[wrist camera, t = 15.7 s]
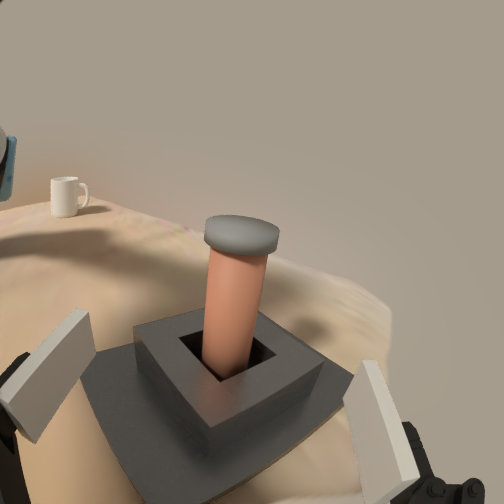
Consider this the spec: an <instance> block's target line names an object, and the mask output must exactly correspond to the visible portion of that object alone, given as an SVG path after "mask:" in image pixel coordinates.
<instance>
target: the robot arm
mask: <svg viewBox="0 0 504 504" xmlns="http://www.w3.org/2000/svg"><path fill="white" fill-rule="evenodd" d="M3 1H4V0H0V4H1V3H2V2H3ZM16 143H17V139H16V138H15V137H11V136H7V137H6V135H5V132H4V131H3V129H2V127H1V126H0V202H2V201H7V200H8V199H9V198H10V197H11V195H12V187H13V186H12V185H13V174H14V162H15V153H16ZM95 355H96V350H95V345H94V340H93V335H92V329H91V323H90V317H89V312H88V311H85V310H82V309H79V308H76V309H75V310H74V311H73V312H72V313H71V314H70V315H69V316H68V317H67V318H66V319H65V320H64V321H63V322H62V323H61V324H60V325H59V326H58V327H57V328H56V329H55V330H54V331H53V332H52V333H51V334H50V335H49V336H48V337H47V338H46V339H45V340H44V341H43V342H42V343H41V344H40V345H39V346H38V347H37V348H36V349H35V350H34V351H33V352H32V353H31V354H30V353H28V352H26V353H24V354H22V355H20V356H18V357H17V358H16V359H15V360H14V361H13V362H12V364H11V365H10V366H9V367H8V368H7V369H6V371H4V372H3V373H2V374H1V376H0V504H31V501H30V498H29V494H28V491H27V487H26V483H25V479H24V475H23V471H22V466H21V461H20V456H19V450H18V444H17V437H16V434H15V433H14V432H15V431H16V429H18V431H19V432H20V433H21V435H22V436H23V437H24V438H26V439H28V440H29V441H31V442H32V443H34V444H36V442H37V441H38V439H39V437H40V436H41V434H42V433H43V431H44V430H45V428H46V426H47V425H48V423H49V422H50V420H51V419H52V417H53V416H54V414H55V413H56V411H57V409H58V408H59V406H60V405H61V403H62V402H63V401H64V399H65V398H66V396H67V395H68V393H69V392H70V390H71V389H72V387H73V386H74V384H75V383H76V382H77V380H78V379H79V377H80V376H81V375H82V373H83V372H84V370H85V369H86V368H87V366H88V365H89V363H90V362H91V361H92V359H93V358H94V357H95ZM343 402H344V406H345V410H346V415H347V419H348V423H349V428H350V432H351V437H352V441H353V446H354V451H355V455H356V460H357V465H358V470H359V475H360V481H361V486H362V491H363V497H364V502H365V504H386V503H388V502H389V501H390V504H484V498H485V489H484V485H483V483H482V482H481V481H480V480H479V479H477V478H470V479H468V480H467V481H466V482H464V483H463V484H462V485H461V484H460V485H459V484H446V483H445V482H444V481H443V480H442V479H440V478H437V477H435V476H434V474H433V472H432V469H431V466H430V464H429V461H428V458H427V455H426V453H425V450H424V448H423V445H422V442H421V441H420V437H419V435H418V432H417V430H416V428H415V427H414V426H413V425H412V424H411V423H410V422H401V420H400V418H399V415H398V413H397V410H396V407H395V405H394V402H393V400H392V397H391V395H390V392H389V390H388V388H387V385H386V383H385V380H384V378H383V376H382V373H381V371H380V369H379V366H378V364H377V362H376V361H375V360H362V361H361V363H360V365H359V367H358V369H357V371H356V374H355V376H354V377H353V379H352V381H351V383H350V385H349V387H348V389H347V391H346V393H345V395H344V397H343Z"/></svg>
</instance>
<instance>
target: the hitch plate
mask: <svg viewBox="0 0 504 504" xmlns="http://www.w3.org/2000/svg"><path fill="white" fill-rule="evenodd" d="M204 316H205V308H203V309H199V310H195V311H192V312H188V313H184V314H180V315H177V316H173V317H169V318H165V319H161V320H157V321H153V322H149V323H145V324H141V325H137V326H133V335H134V343H131V344H127V345H124V346H120V347H116V348H112V349H108V350H104V351H100V352H96V355H95V357H94V358H93V359H92V361H91V362H90V363H89V365H88V366H87V368H86V369H85V370H84V372H83V373H82V375H81V376H80V379H81V382H82V385H83V387H84V390H85V392H86V395H87V397H88V400H89V402H90V404H91V407H92V409H93V411H94V414H95V416H96V418H97V420H98V422H99V424H100V426H101V429H102V431H103V433H104V435H105V437H106V439H107V441H108V442H109V444H110V446H111V448H112V450H113V452H114V454H115V456H116V457H117V459H118V461H119V463H120V464H121V466H122V468H123V469H124V471H125V473H126V474H127V476H128V478H129V479H130V481H131V482H132V484H133V486H134V487H135V489H136V490H137V492H138V493H139V495H140V496H141V498H142V499H143V500H144V502H145V503H146V504H209V503H211V502H212V501H214V500H216V499H218V498H220V497H222V496H223V495H225V494H227V493H229V492H230V491H232V490H234V489H235V488H237V487H239V486H240V485H242V484H243V483H245V482H247V481H248V480H250V479H251V478H253V477H254V476H256V475H257V474H259V473H260V472H262V471H263V470H265V469H266V468H268V467H269V466H271V465H272V464H274V463H275V462H276V461H278V460H279V459H280V458H282V457H283V456H285V455H286V454H287V453H289V452H290V451H291V450H293V449H294V448H295V447H296V446H298V445H299V444H300V443H301V442H303V441H304V440H305V439H306V438H308V437H309V436H310V435H311V434H313V433H314V432H315V431H316V430H317V429H318V428H320V427H321V426H322V425H323V424H324V423H325V422H327V421H328V420H329V419H330V418H331V417H332V416H333V415H334V414H336V413H337V412H338V411H339V410H340V409H341V408H342V407H343V406H344V402H343V397H344V395H345V393H346V391H347V389H348V387H349V385H350V383H351V381H352V379H353V377H354V376H355V375H353V374H351V373H350V372H348V371H347V370H345V369H344V368H342V367H340V366H339V365H337V364H336V363H334V362H333V361H331V360H330V359H328V358H327V357H325V356H324V355H322V354H321V353H319V352H318V351H316V350H315V349H313V348H312V347H310V346H309V345H307V344H306V343H304V342H303V341H301V340H300V339H298V338H297V337H295V336H294V335H292V334H291V333H289V332H288V331H287V330H285V329H284V328H282V327H281V326H279V325H278V324H276V323H275V322H274V321H272V320H271V319H269V318H268V317H266V316H265V315H264V314H262V313H261V312H259V311H258V313H257V318H256V324H255V329H254V334H253V340H252V345H251V350H250V355H249V361H248V366H247V370H246V371H244V372H242V373H239V374H237V375H235V376H233V377H231V378H229V379H226V380H224V381H222V382H219V381H218V380H217V379H216V378H215V377H214V376H213V375H212V374H211V373H210V372H209V371H208V370H207V369H206V368H205V367H204V366H203V364H202V363H201V362H202V345H203V330H204Z"/></svg>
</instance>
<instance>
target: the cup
mask: <svg viewBox="0 0 504 504" xmlns="http://www.w3.org/2000/svg"><path fill="white" fill-rule="evenodd" d="M78 188H84V189H85V192H86V200H85V203H84V204H82V205H78ZM88 203H89V189H88V187H87V185H86V184H84V183H78V178H77V177H59V178H54V179H51V214H52V216H53V217H55V218H69V217H73V216H75V215H76V214H77V212H78V209H83V208H85V207H86V206H87V205H88Z"/></svg>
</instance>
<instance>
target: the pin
mask: <svg viewBox="0 0 504 504" xmlns="http://www.w3.org/2000/svg"><path fill="white" fill-rule="evenodd" d="M279 232H280V230H279V228H278V227H276V226H275V225H273V224H271V223H269V222H266V221H263V220H260V219H255V218H251V217H245V216H236V215H219V216H213V217H210V218H208V219H207V220H206V224H205V234H204V241H205V242H206V243H207V244H208V245H209V246H211V247H210V258H209V268H208V279H207V291H206V303H205V316H204V330H203V345H202V362H201V363H202V364H203V366H204V367H205V368H206V369H207V370H208V371H209V372H210V373H211V374H212V375H213V376H214V377H215V378H216V379H217V380H218V381H219V382H222V381H224V380H226V379H229V378H231V377H233V376H235V375H237V374H239V373H242V372H244V371H246V370H247V366H248V361H249V355H250V350H251V345H252V340H253V334H254V329H255V324H256V318H257V313H258V308H259V302H260V297H261V291H262V286H263V280H264V275H265V269H266V263H267V258H268V254H271V253H272V252H274V251H275V250H276V248H277V244H278V237H279Z"/></svg>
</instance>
